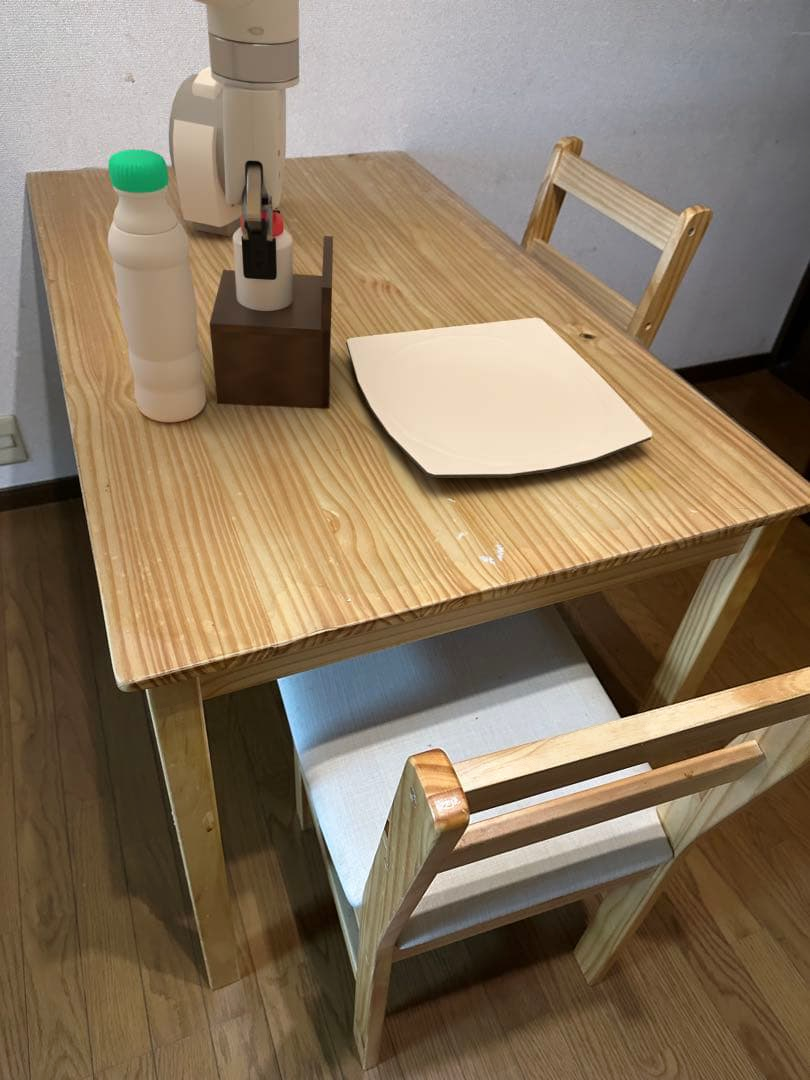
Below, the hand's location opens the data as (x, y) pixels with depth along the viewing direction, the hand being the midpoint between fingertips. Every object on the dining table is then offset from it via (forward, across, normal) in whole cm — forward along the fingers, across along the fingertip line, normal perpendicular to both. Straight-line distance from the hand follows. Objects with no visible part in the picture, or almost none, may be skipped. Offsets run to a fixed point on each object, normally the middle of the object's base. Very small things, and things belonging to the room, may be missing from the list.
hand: (262, 261), depth 78 cm
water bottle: (+14, +7, -10) cm, 18 cm away
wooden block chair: (+13, 0, +1) cm, 14 cm away
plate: (+14, +4, +25) cm, 29 cm away
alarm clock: (+14, -43, -9) cm, 46 cm away
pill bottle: (+4, 0, 0) cm, 4 cm away
